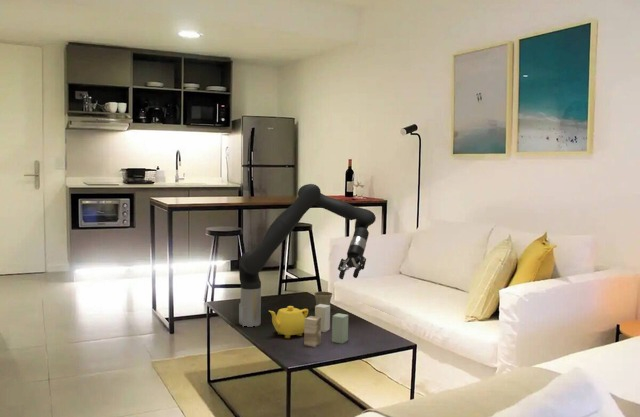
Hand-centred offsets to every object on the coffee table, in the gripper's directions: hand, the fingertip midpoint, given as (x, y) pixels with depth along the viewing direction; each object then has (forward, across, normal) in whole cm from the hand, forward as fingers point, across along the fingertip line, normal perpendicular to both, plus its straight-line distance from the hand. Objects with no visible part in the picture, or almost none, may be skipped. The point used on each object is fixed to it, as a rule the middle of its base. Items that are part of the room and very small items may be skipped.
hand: (347, 277), depth 257 cm
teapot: (+33, -14, -11) cm, 38 cm away
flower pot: (+6, -30, +19) cm, 36 cm away
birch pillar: (+37, +2, -10) cm, 39 cm away
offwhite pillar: (+25, -8, +2) cm, 26 cm away
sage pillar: (+31, +7, 0) cm, 32 cm away
